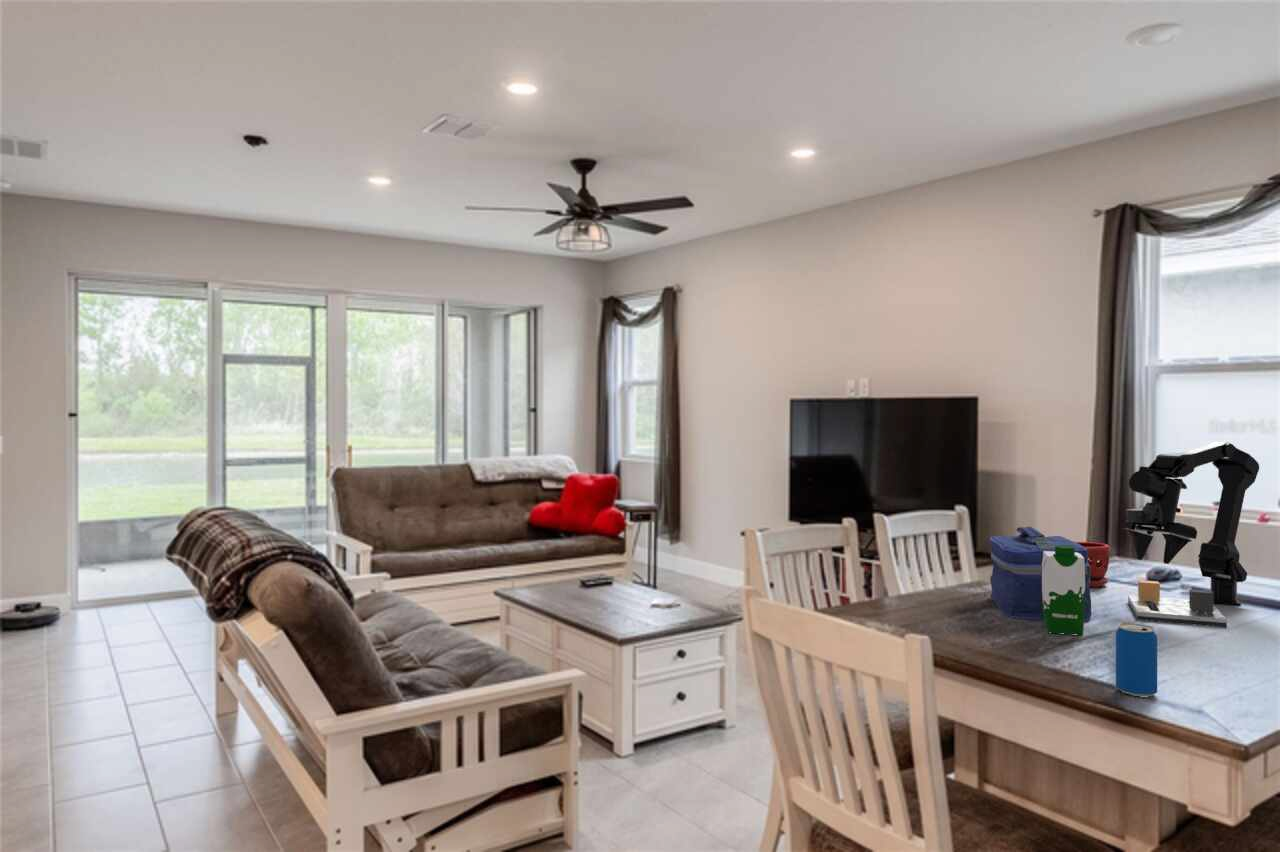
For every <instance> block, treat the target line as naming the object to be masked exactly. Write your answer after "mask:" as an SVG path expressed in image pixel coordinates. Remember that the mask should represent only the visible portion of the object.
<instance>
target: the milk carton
mask: <svg viewBox="0 0 1280 852" xmlns="http://www.w3.org/2000/svg"><path fill="white" fill-rule="evenodd" d="M1042 610H1043V616H1044V620H1043V621H1044V623H1043V624H1044V627H1045V626H1046V627H1045V628H1047V629H1046V630H1048V631H1047V632H1048V633H1049V632H1051V633H1064V634H1077V635H1076V636H1079V635H1083V634H1084V627H1085V626H1084V625H1085V621H1084V619H1085V561H1084V557H1083V556H1082V555H1081V554H1079V553H1076V552H1075V548H1074V547H1072V546H1064V545H1058V546H1055V552H1052V551H1043V560H1042ZM1064 634H1063V635H1064Z"/></svg>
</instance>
